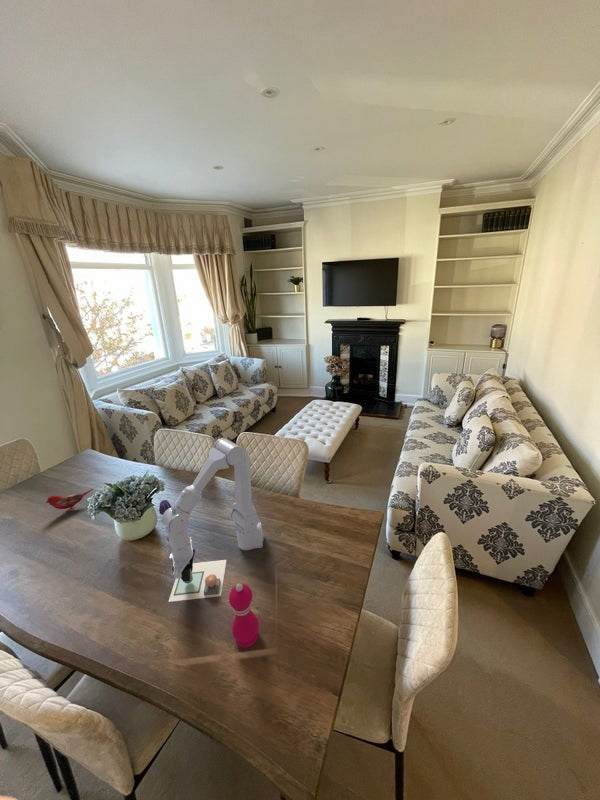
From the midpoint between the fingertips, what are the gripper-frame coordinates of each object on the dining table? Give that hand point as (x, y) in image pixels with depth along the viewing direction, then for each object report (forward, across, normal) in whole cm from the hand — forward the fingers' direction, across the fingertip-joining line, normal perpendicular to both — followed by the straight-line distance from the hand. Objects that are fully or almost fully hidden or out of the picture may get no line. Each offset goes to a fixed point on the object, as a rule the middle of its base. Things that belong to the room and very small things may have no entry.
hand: (187, 575), depth 105 cm
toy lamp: (+4, -23, -12) cm, 26 cm away
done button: (+2, +3, +8) cm, 9 cm away
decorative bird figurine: (+4, -47, -62) cm, 78 cm away
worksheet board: (+4, -1, +3) cm, 5 cm away
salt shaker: (+2, 0, 0) cm, 2 cm away
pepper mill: (+4, +19, +20) cm, 28 cm away
